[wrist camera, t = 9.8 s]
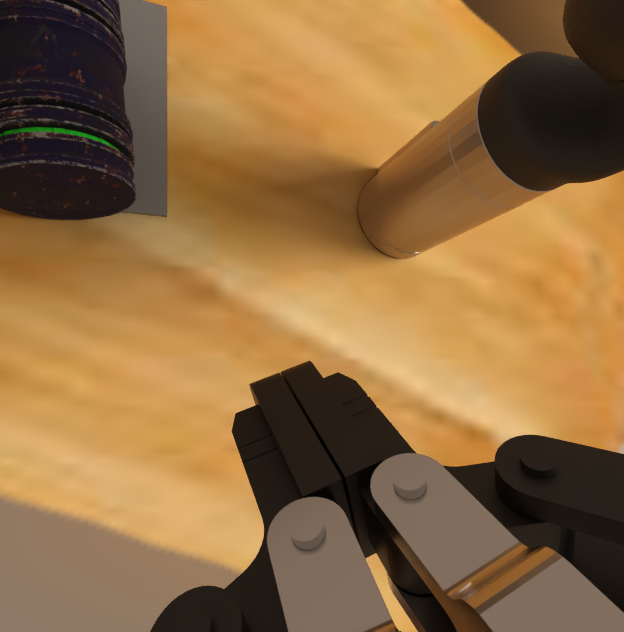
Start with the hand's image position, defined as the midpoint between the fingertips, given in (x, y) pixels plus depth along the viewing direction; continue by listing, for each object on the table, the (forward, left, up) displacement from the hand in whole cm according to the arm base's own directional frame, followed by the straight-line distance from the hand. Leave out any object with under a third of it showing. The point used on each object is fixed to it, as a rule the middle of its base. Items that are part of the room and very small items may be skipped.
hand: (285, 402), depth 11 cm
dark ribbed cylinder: (-12, -10, -24) cm, 29 cm away
